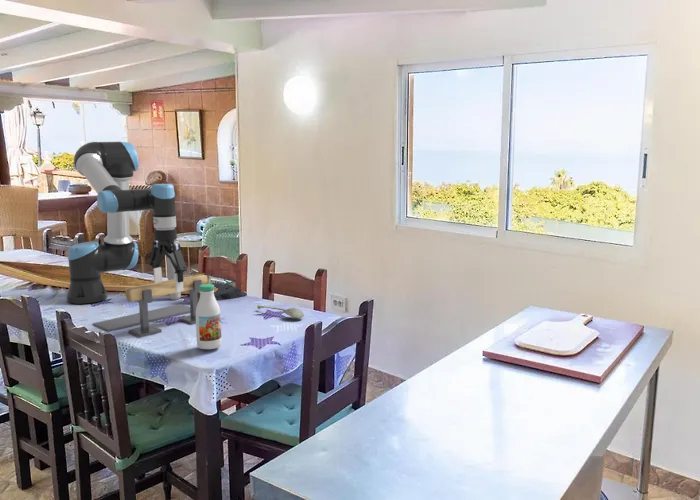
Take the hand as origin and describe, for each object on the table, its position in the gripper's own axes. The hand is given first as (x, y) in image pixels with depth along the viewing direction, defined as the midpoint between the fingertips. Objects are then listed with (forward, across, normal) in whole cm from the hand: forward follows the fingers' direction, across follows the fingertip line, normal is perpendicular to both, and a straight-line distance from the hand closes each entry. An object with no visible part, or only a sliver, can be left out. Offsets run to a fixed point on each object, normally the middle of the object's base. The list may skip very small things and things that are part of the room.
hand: (168, 288), depth 213 cm
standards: (+14, 0, 0) cm, 14 cm away
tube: (+14, -32, +22) cm, 41 cm away
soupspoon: (+13, +17, +34) cm, 40 cm away
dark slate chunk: (+14, -27, +42) cm, 51 cm away
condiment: (+14, -20, +26) cm, 36 cm away
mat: (+14, -16, 0) cm, 21 cm away
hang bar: (+2, 0, 0) cm, 2 cm away
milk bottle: (+14, +29, -4) cm, 32 cm away
